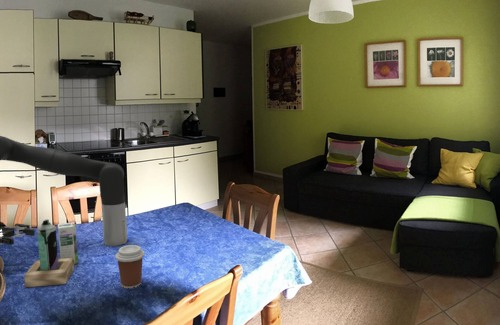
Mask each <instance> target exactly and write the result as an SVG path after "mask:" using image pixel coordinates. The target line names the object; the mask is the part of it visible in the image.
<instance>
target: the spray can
mask: <svg viewBox="0 0 500 325" xmlns="http://www.w3.org/2000/svg"><path fill="white" fill-rule="evenodd" d="M36 235H37V244H38V256H39V260H40V270H41V271H48V270H59V264H58V259H59V254H58V253H59V251H58V241H57V240H58V239H57V238H58V237H57V228H56V225H55V224H52V223H51V222H50V221H49V219H44V220H43V221H42V223H41V225H40V226H38V227H37V230H36Z"/></svg>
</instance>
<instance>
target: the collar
mask: <svg viewBox="0 0 500 325" xmlns="http://www.w3.org/2000/svg"><path fill="white" fill-rule="evenodd" d="M58 264H59V270H48V271H41V270H40V259H38V260H35V262H34V263H33V264H32V265H31V266H30V268H29V269H28V270H27V272H26V273H25V274H24V275H23V278H24V287H25V288H31V287H32V288H33V287H44V286H46V287H47V286H56V285H66V284H67V283H68V281H69V278H70V277H71V276H72V273H73V271H74V269H75V264H74V259H73V258H63V259H60V258H58Z"/></svg>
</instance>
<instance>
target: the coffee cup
mask: <svg viewBox="0 0 500 325" xmlns="http://www.w3.org/2000/svg"><path fill="white" fill-rule="evenodd" d="M114 257H115V260H116V261H117V264H118V272H119V273H118V274H119V278H120V280H119V281H120V286H121V287H122V288H123V287H124V289H128V288H129V289H134V288H133V287H135V288H138V287H140V286H141V285H142V283H141V282H142V281H143V280H142V277H143V275H142V274H143V258H144V257H145V251H144V250H143V249H142V247H141V246H140V245H136V244H128V245H124V246H122V247H119V249H118V252H117V253H115V256H114ZM140 284H141V285H140ZM139 285H140V286H139ZM137 286H138V287H137Z"/></svg>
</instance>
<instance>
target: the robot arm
mask: <svg viewBox="0 0 500 325" xmlns="http://www.w3.org/2000/svg"><path fill="white" fill-rule="evenodd" d="M0 161H7V162H15V163H21V164H25V165H29V166H31V167H34V168H36V169H39V170H41V171H45V172H49V173H52V174H57V175H59V176H61V175H62V176H71V177H72V176H73V177H86V178H91V179H95V180H97V181H99V193H100V194H99V195H100V201H101V202H100V203H101V215H102V216H101V217H102V218H101V219H102V232H103V233H102V236H103V245H105V246H108V247H116V246H121V245H124V244H125V245H126V244H127V242H128V239H129V238H128V222H127V221H128V220H127V215H126V212H127V211H126V196H125V182H124V180H125V179H124V178H125V171H124V170H125V169H124V168H123V167H122V166H121V165H120V164H118V163H116V162H110V161H109V162H108V161H102V160H95V159H90V158H87V157H84V156H81V155H77V154H74V153H71V152H67V151H63V150H60V149H55V148H51V147H45V146H43V147H42V146H34V145H29V144H25V143H22V142H19V141H16V140H13V139H11V138H8V137H7V136H2V135H0ZM15 232H16V234H15ZM35 233H36V231H35V229H33V228H30V225H29V224H23V223H15V224H14V226H10V225H9V226H8V225H6V224H5V223H4V222H2V221H0V245H9V246H12V245H14V244H15V242H14V238H15V237H17V238H18V237H20V236H21V235H22V236H23V235H25V236H30V237H33V236H35V235H36V234H35Z"/></svg>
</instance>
